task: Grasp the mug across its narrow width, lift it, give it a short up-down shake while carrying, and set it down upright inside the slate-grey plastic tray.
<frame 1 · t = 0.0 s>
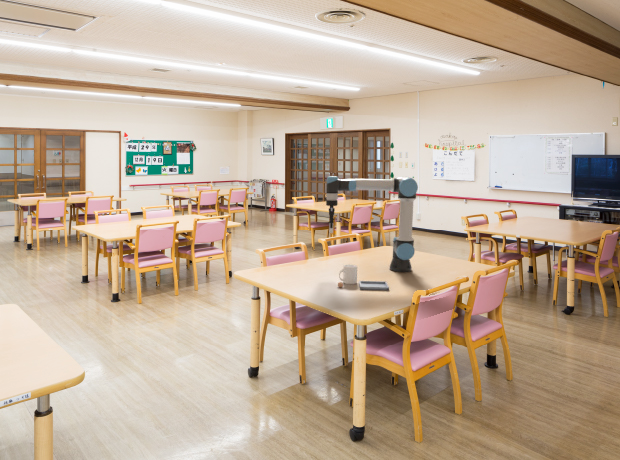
hand: (331, 231, 325), 28 cm above the table, fingers open, 13 cm apart
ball: (340, 287, 292), on the table
mug: (347, 283, 303), on the table
tray: (373, 286, 294), on the table
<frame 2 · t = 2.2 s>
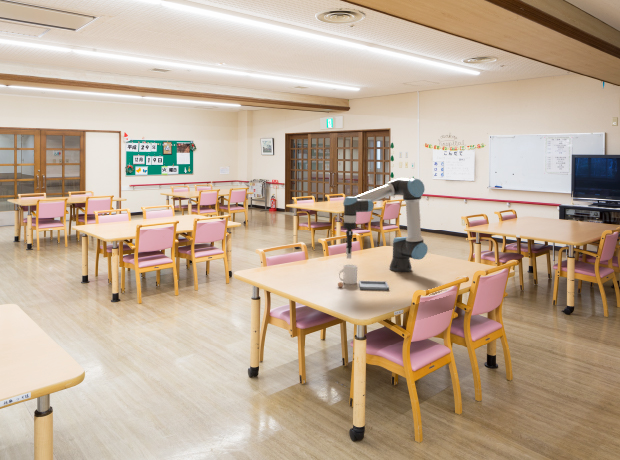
hand: (348, 256, 300), 17 cm above the table, fingers open, 13 cm apart
nothing on the table moved.
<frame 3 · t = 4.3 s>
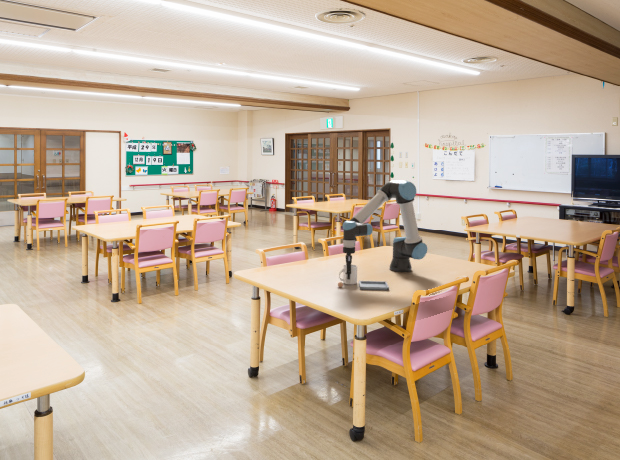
hand: (348, 282, 303), 0 cm above the table, fingers closed on mug, 9 cm apart
mug: (347, 283, 302), on the table, touching gripper
everything else where it was.
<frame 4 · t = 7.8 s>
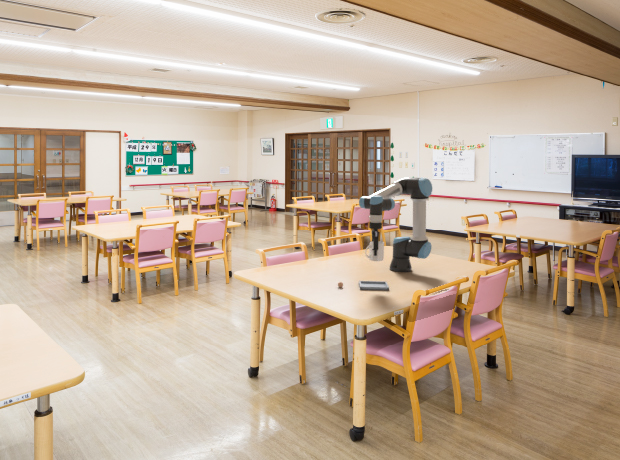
hand: (374, 259, 292), 17 cm above the table, fingers closed on mug, 9 cm apart
mug: (373, 260, 291), point 16 cm above the table, touching gripper
everything else where it was.
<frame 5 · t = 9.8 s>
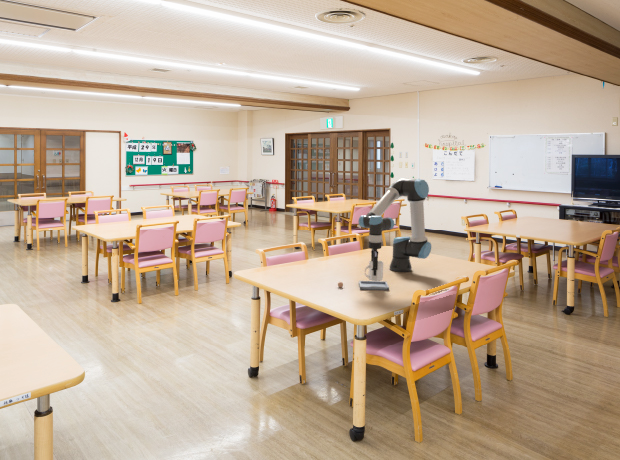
hand: (373, 278, 294), 5 cm above the table, fingers closed on mug, 9 cm apart
mug: (373, 279, 293), point 5 cm above the table, touching gripper
everything else where it was.
when the fingers open (2 cm above the table, at t = 11.3 s): mug drops 1 cm, resting on tray.
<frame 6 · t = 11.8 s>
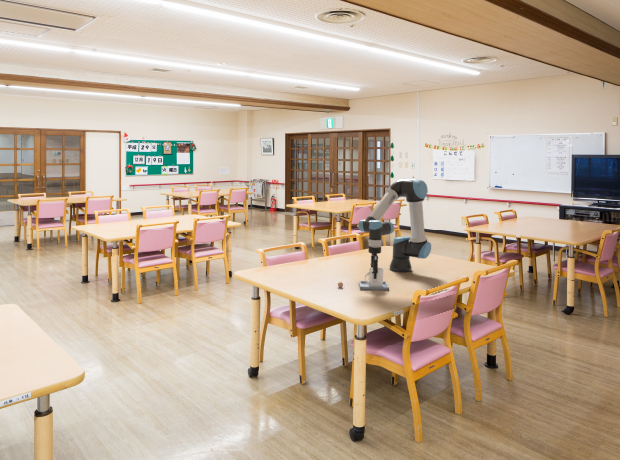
hand: (373, 280, 294), 4 cm above the table, fingers open, 13 cm apart
mug: (373, 286, 294), resting on tray
everything else where it was.
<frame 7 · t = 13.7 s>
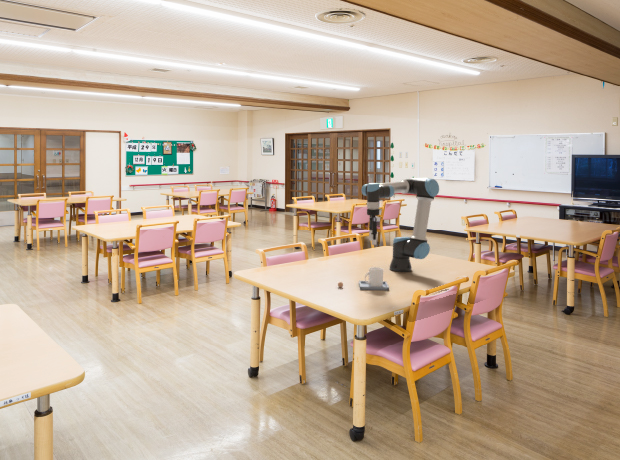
hand: (372, 242, 302), 25 cm above the table, fingers open, 13 cm apart
nothing on the table moved.
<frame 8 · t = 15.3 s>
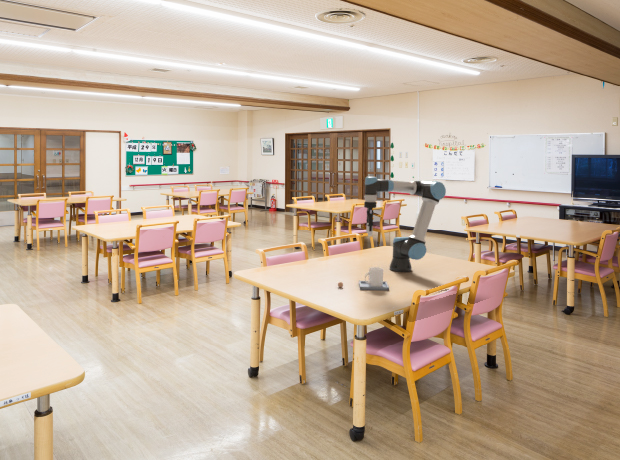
hand: (369, 234, 310), 29 cm above the table, fingers open, 13 cm apart
nothing on the table moved.
at the end: mug inside the target area on the tray (0.8 cm from its centre), point 0.4 cm above the tray's base; mug tilted 0°; the gripper is holding nothing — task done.
